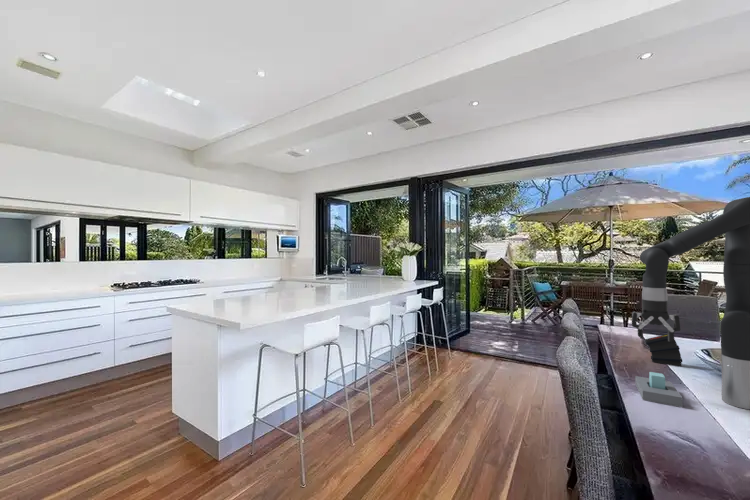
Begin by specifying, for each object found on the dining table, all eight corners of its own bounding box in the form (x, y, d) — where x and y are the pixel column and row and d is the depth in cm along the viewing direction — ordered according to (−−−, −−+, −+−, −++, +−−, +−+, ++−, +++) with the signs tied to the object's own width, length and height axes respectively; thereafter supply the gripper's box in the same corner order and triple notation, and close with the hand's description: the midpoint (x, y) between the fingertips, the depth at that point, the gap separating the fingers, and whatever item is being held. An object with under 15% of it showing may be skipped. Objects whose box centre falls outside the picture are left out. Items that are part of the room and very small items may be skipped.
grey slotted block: (635, 384, 132) (635, 376, 132) (670, 390, 127) (670, 381, 127) (642, 399, 119) (642, 390, 119) (682, 407, 113) (682, 397, 113)
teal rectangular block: (662, 394, 123) (662, 373, 123) (665, 398, 120) (665, 377, 120) (649, 391, 126) (649, 371, 126) (651, 395, 122) (651, 375, 122)
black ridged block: (691, 365, 149) (672, 334, 153) (657, 371, 156) (640, 341, 160) (690, 363, 152) (671, 332, 156) (657, 369, 159) (640, 340, 163)
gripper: (675, 298, 124) (676, 339, 124) (629, 296, 132) (630, 335, 131) (681, 301, 118) (682, 344, 118) (633, 298, 125) (633, 339, 125)
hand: (655, 339), depth 125 cm, fingers open, 8 cm apart
